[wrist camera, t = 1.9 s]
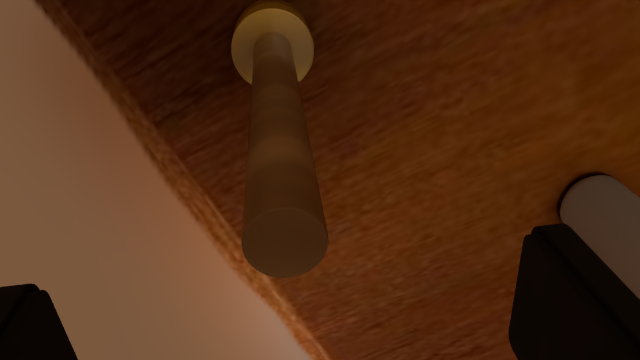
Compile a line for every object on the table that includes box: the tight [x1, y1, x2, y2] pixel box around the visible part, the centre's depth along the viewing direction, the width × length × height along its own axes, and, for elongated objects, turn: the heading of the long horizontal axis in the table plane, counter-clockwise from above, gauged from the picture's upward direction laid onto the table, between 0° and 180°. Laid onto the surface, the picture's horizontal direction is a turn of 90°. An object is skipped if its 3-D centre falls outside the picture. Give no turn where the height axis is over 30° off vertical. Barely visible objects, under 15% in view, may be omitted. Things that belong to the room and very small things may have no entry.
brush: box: [231, 0, 328, 278], centre depth 20 cm, size 4×4×20 cm
